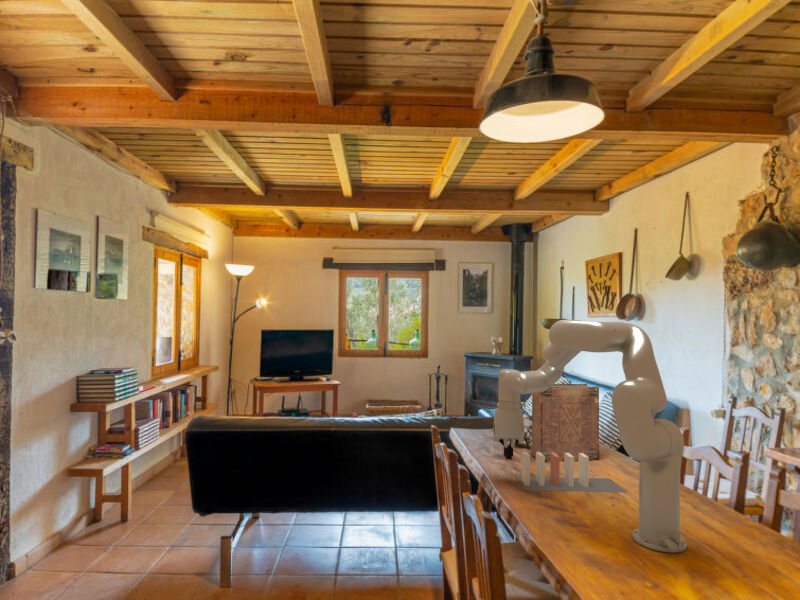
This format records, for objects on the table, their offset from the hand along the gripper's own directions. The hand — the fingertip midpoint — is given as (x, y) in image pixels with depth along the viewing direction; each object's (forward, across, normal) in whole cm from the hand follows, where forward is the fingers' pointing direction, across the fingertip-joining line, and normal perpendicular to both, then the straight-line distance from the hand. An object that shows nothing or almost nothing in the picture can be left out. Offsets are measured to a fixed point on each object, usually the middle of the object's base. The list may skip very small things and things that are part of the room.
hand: (508, 458), depth 171 cm
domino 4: (+8, -21, 0) cm, 23 cm away
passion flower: (+9, -16, -50) cm, 54 cm away
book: (+9, -31, -34) cm, 47 cm away
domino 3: (+8, -16, 0) cm, 18 cm away
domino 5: (+8, -26, 0) cm, 27 cm away
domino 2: (+8, -11, 0) cm, 14 cm away
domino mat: (+9, -21, 0) cm, 23 cm away
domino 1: (+8, -6, 0) cm, 10 cm away
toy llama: (+9, -19, -71) cm, 74 cm away
